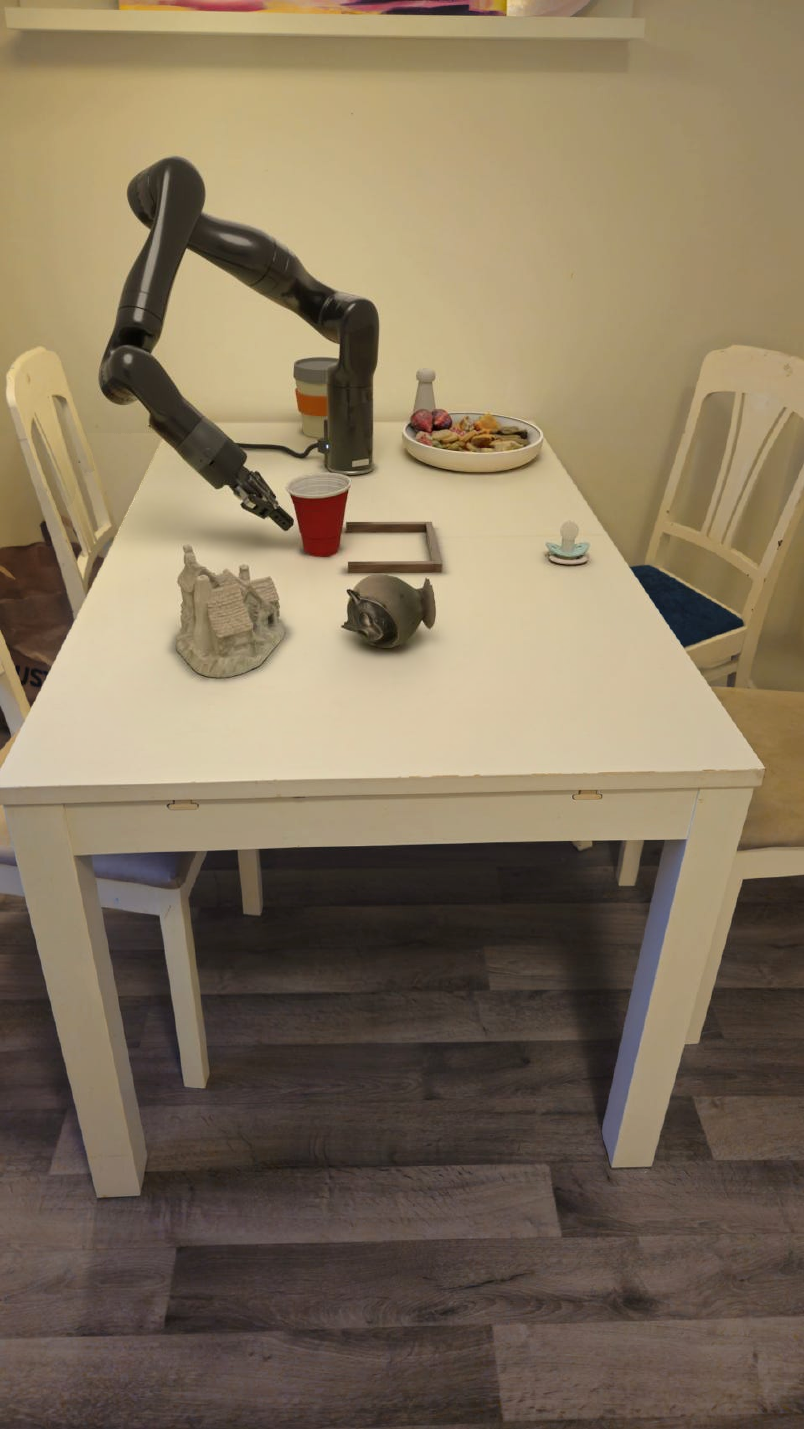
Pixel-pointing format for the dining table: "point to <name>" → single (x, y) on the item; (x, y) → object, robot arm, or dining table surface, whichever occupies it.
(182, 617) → the ceramic cottage
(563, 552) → the pacifier
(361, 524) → the frame
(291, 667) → the dining table surface
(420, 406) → the salt shaker
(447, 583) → the dining table surface
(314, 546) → the plastic cup
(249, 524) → the dining table surface
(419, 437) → the bowl
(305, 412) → the reusable coffee cup
